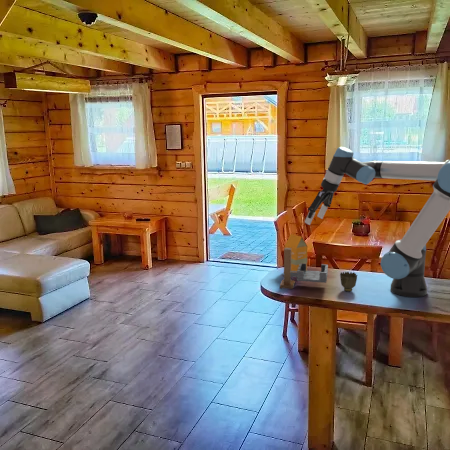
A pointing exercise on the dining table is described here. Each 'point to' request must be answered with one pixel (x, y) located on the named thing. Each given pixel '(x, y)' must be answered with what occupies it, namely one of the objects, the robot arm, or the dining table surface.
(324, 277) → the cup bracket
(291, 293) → the dining table surface
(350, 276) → the cup
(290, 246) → the orange juice
